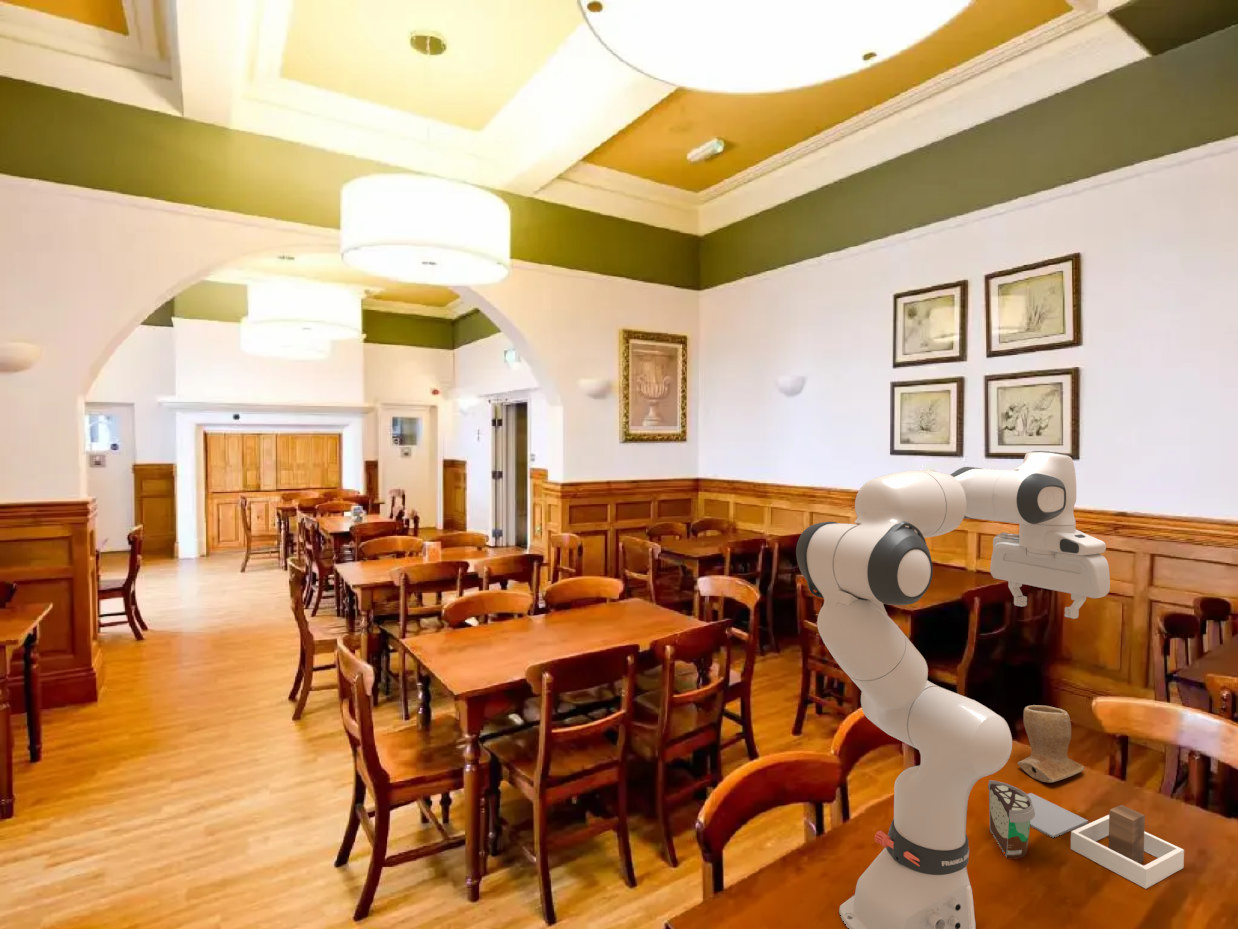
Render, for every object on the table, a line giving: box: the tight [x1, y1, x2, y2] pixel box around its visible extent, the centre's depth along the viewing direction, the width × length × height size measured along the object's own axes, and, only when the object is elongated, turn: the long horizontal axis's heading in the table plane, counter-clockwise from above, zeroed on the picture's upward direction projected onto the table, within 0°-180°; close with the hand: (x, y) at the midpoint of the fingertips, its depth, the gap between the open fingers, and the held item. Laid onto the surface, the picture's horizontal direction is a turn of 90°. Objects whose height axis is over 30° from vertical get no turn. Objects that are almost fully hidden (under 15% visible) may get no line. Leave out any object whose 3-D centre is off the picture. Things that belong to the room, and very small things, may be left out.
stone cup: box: [1017, 704, 1085, 784], centre depth 160 cm, size 15×12×15 cm
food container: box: [987, 779, 1035, 860], centre depth 131 cm, size 12×6×10 cm, turn 168°
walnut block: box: [1107, 804, 1146, 864], centre depth 127 cm, size 4×4×9 cm
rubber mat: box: [1026, 792, 1089, 839], centre depth 141 cm, size 12×12×1 cm
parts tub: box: [1070, 814, 1185, 889], centre depth 127 cm, size 13×13×4 cm
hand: (1045, 611), depth 125 cm, fingers open, 8 cm apart
